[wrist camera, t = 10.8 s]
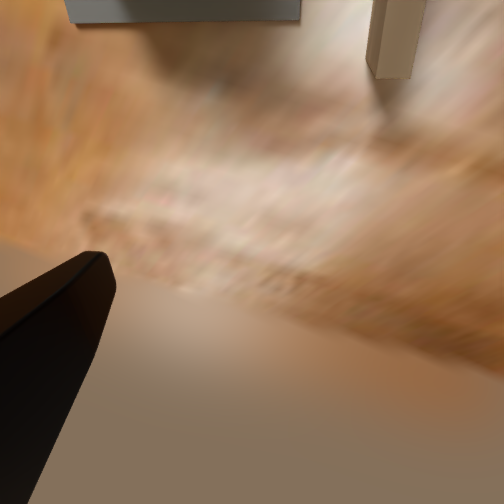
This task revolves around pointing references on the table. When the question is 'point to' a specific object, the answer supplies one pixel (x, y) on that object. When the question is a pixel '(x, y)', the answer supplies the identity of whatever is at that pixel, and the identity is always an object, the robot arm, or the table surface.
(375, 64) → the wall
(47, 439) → the robot arm
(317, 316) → the table surface
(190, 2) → the mat
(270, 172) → the table surface
